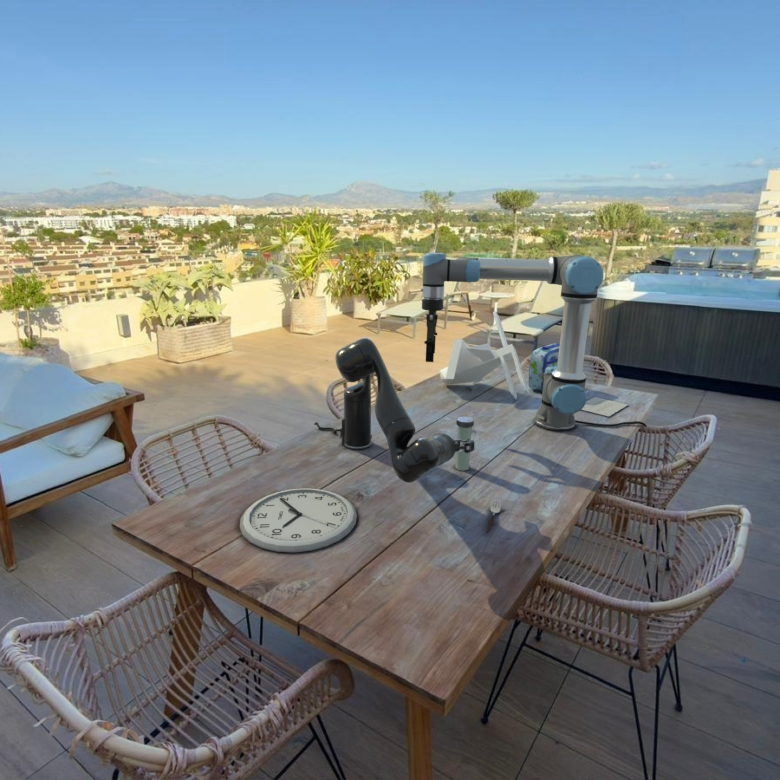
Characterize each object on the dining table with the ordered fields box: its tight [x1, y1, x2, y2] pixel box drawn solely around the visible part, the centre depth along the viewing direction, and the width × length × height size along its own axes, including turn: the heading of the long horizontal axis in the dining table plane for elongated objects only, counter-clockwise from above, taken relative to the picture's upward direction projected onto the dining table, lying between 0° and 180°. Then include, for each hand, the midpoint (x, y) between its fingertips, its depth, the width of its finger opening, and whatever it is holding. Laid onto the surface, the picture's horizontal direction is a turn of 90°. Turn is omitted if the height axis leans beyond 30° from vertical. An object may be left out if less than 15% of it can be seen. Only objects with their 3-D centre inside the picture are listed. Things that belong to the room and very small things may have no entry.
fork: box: [486, 498, 503, 534], centre depth 137 cm, size 3×16×2 cm, turn 160°
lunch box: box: [528, 343, 560, 392], centre depth 249 cm, size 26×11×21 cm, turn 134°
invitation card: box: [580, 396, 629, 418], centre depth 226 cm, size 21×1×15 cm
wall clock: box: [239, 487, 358, 553], centre depth 136 cm, size 30×2×30 cm
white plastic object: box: [438, 310, 531, 400], centre depth 245 cm, size 37×45×31 cm
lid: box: [455, 416, 475, 428], centre depth 162 cm, size 5×5×2 cm
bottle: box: [455, 425, 473, 472], centre depth 164 cm, size 4×4×16 cm
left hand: (453, 441), depth 146 cm, fingers open, 8 cm apart
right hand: (430, 357), depth 190 cm, fingers open, 13 cm apart
